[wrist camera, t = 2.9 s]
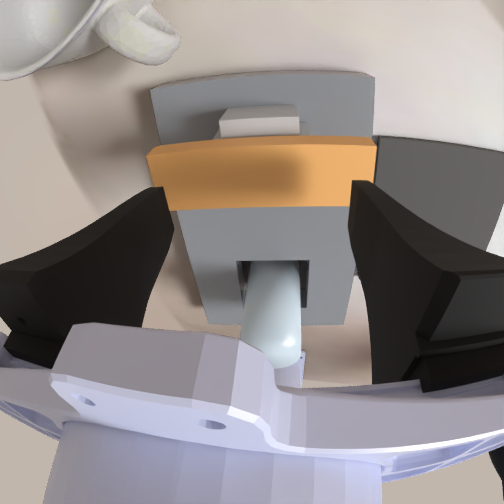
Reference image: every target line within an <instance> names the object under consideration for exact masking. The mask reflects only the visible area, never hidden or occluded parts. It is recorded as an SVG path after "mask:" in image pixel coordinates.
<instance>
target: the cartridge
mask: <svg viewBox="0 0 504 504" xmlns="http://www.w3.org/2000/svg"><path fill="white" fill-rule="evenodd" d="M240 340H242V341H244V342H246V343H248V344H250V345H252V346H254V347H256V348H258V349H260V350H261V351H262V352H264V353H265V355H266V356H267V358H268V359H269V361H270V363H271V364H272V366H273V367H274V369H277V368H284V367H287V366H290V365H292V364H294V363H296V362H297V361H298V360H299V359H300V357H301V302H300V268H299V263H298V260H270V261H251V262H250V268H249V275H248V282H247V289H246V297H245V304H244V311H243V318H242V325H241V332H240Z"/></svg>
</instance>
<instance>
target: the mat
mask: <svg viewBox="0 0 504 504" xmlns="http://www.w3.org/2000/svg"><path fill="white" fill-rule="evenodd" d="M373 184H374V185H376V186H377V187H379V188H380V189H381V190H383V191H384V192H385V193H387V194H388V195H389V196H391V197H392V198H393V199H395V200H396V201H397V202H399V203H400V204H401V205H403V206H404V207H405V208H407V209H408V210H410V211H411V212H413V213H414V214H415V215H417V216H418V217H420V218H421V219H423V220H425V221H426V222H428V223H430V224H431V225H433V226H435V227H436V228H438V229H440V230H441V231H443V232H445V233H447V234H449V235H451V236H453V237H455V238H457V239H459V240H461V241H463V242H465V243H467V244H470V245H472V246H474V247H477V248H479V249H481V250H484V251H486V249H487V246H488V244H489V241H490V239H491V236H492V234H493V231H494V229H495V226H496V223H497V221H498V218H499V215H500V212H501V209H502V207H503V204H504V152H499V151H494V150H489V149H484V148H478V147H472V146H466V145H460V144H453V143H446V142H438V141H430V140H422V139H412V138H401V137H389V136H378V145H377V156H376V166H375V175H374V183H373ZM358 277H359V275H358ZM359 279H360V277H359Z"/></svg>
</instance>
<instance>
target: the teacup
mask: <svg viewBox="0 0 504 504" xmlns="http://www.w3.org/2000/svg"><path fill="white" fill-rule="evenodd" d="M153 2H154V0H0V81H8V80H13V79H17V78H21V77H24V76H27V75H29V74H31V73H33V72H35V71H37V70H40V69H44V68H48V67H52V66H56V65H60V64H63V63H67V62H71V61H74V60H77V59H80V58H83V57H86V56H89V55H91V54H94V53H96V52H98V51H100V50H102V49H104V48H106V47H107V46H109V47H110V48H112V49H113V50H114V51H116V52H118V53H119V54H121V55H123V56H125V57H127V58H129V59H131V60H133V61H135V62H138V63H142V64H145V65H160V64H163V63H164V62H166V61H167V60H168V59H169V58H170V57H171V56H172V55H173V54H174V52H175V51H176V50H177V49H178V47H179V45H180V43H181V37H180V35H179V33H178V32H177V30H176V29H175V28H174V27H173V26H172V25H171V24H170V23H169V22H168V21H167V20H166V19H165V18H164V17H162V16H161V15H160V14H159V13H158V12H157V11H156V9H155V8H154V7H153V6H152V3H153Z"/></svg>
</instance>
